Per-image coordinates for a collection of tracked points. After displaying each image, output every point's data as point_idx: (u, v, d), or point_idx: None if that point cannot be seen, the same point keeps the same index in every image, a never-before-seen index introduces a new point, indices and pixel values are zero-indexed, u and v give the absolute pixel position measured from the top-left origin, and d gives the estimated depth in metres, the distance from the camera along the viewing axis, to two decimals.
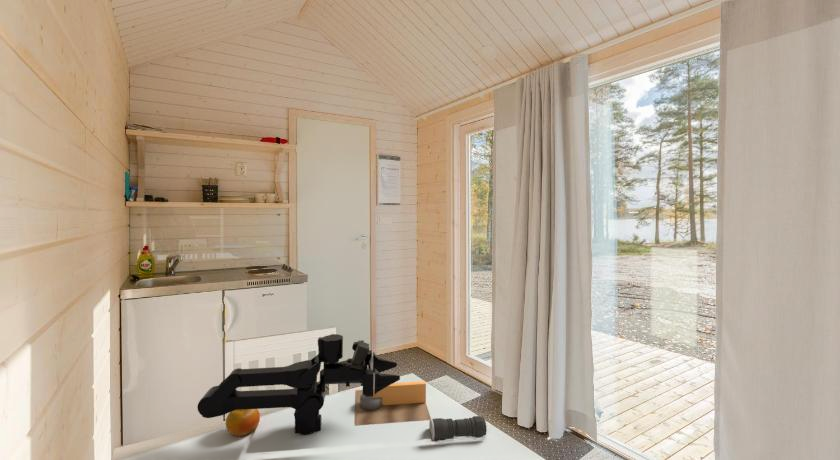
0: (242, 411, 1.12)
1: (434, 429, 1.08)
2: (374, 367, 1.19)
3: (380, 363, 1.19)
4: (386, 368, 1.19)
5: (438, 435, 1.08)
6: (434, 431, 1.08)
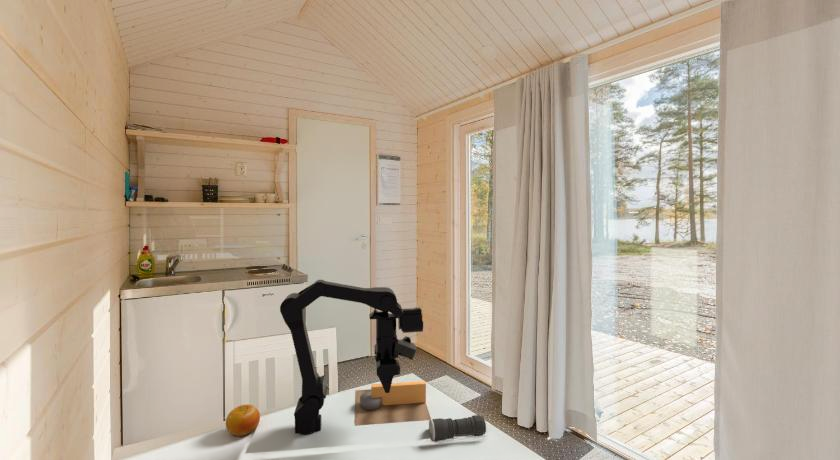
0: (242, 411, 1.12)
1: (434, 429, 1.08)
2: None
3: None
4: None
5: (438, 435, 1.07)
6: (434, 432, 1.08)
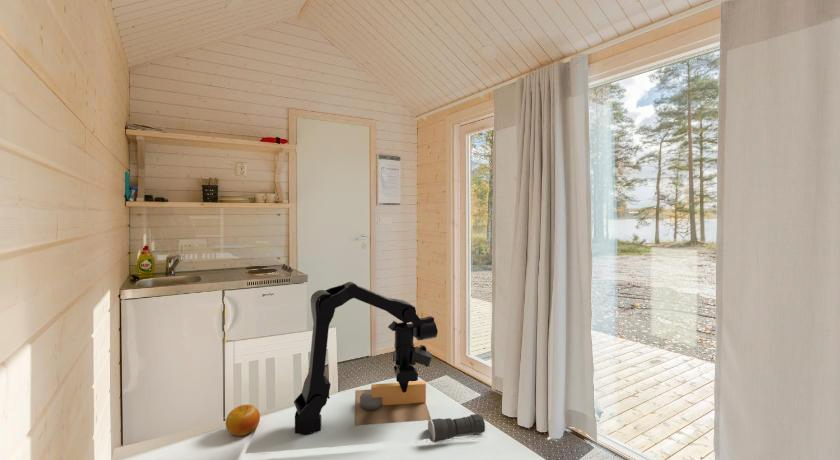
0: (242, 411, 1.12)
1: (434, 430, 1.07)
2: None
3: None
4: None
5: (438, 435, 1.07)
6: (434, 432, 1.07)
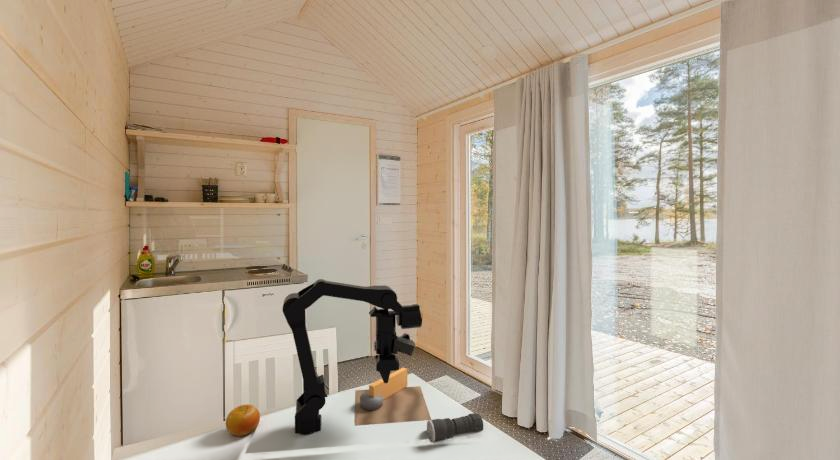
0: (242, 411, 1.12)
1: (434, 430, 1.07)
2: None
3: None
4: None
5: (438, 435, 1.07)
6: (434, 432, 1.07)
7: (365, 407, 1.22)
